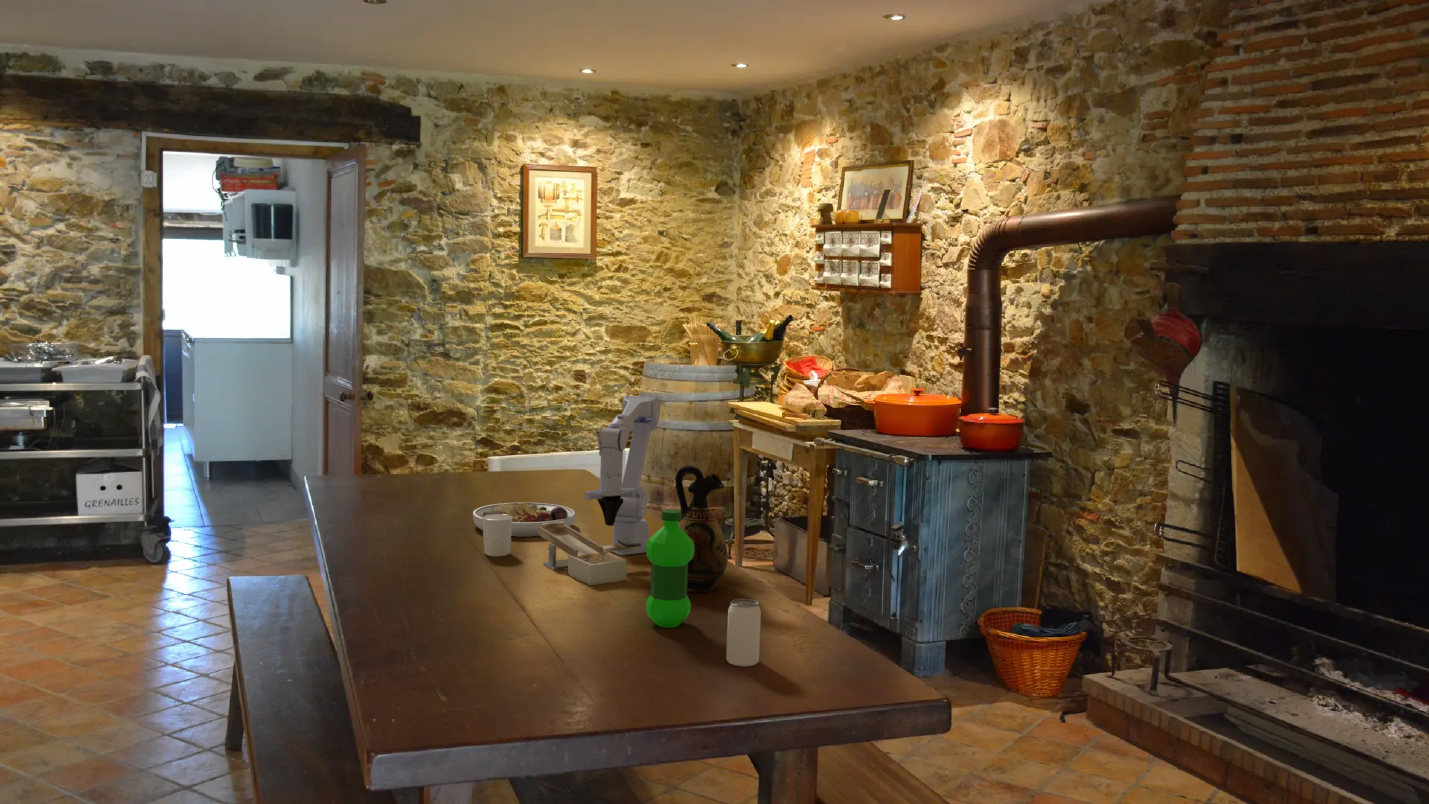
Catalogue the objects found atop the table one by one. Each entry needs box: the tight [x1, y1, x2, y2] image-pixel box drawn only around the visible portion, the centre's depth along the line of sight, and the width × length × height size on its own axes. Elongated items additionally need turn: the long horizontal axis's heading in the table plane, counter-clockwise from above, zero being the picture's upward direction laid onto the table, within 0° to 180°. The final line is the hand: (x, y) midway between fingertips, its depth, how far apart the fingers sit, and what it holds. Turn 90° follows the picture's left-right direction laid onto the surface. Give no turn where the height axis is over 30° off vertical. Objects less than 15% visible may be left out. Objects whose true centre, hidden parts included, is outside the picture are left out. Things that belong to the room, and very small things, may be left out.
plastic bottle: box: [645, 508, 695, 628], centre depth 243 cm, size 10×10×25 cm
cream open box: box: [567, 552, 627, 586], centre depth 280 cm, size 10×11×5 cm
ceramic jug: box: [675, 464, 729, 594], centre depth 273 cm, size 17×15×30 cm
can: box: [725, 598, 762, 668], centre depth 220 cm, size 6×6×12 cm
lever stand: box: [542, 543, 591, 571], centre depth 291 cm, size 12×6×6 cm, turn 126°
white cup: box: [482, 514, 513, 557], centre depth 301 cm, size 8×8×10 cm
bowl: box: [472, 501, 576, 538], centre depth 334 cm, size 30×30×8 cm
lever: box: [538, 522, 641, 559], centre depth 294 cm, size 19×21×3 cm
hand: (609, 525), depth 294 cm, fingers closed
